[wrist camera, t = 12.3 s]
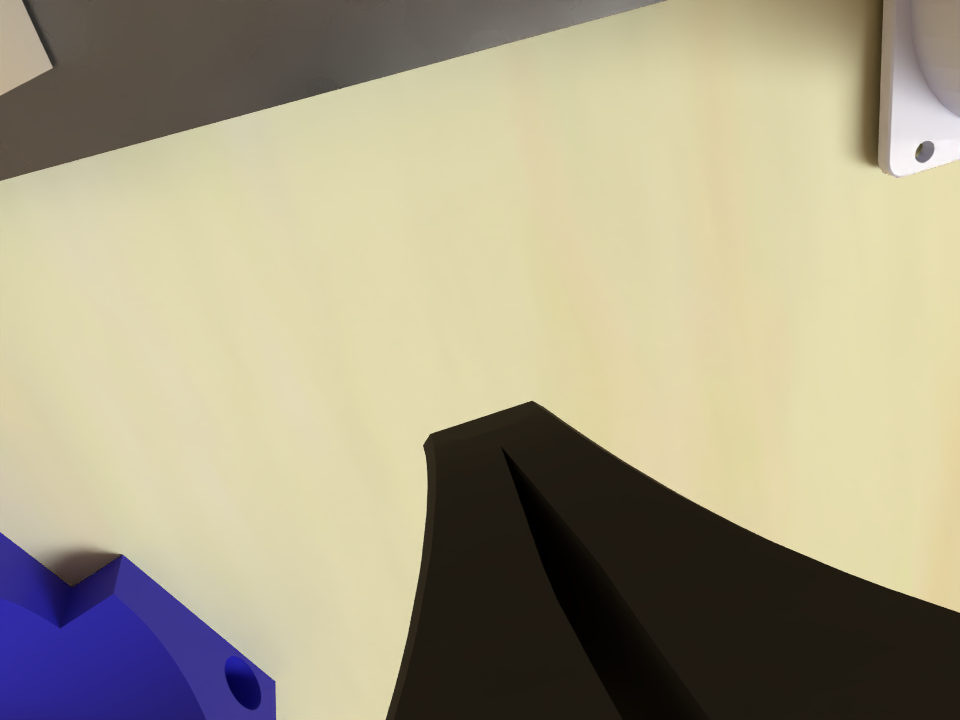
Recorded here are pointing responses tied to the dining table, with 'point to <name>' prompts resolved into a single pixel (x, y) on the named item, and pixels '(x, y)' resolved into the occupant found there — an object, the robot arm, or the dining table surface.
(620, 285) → the dining table surface
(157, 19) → the breaker panel
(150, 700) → the cable clip
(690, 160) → the dining table surface
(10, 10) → the on breaker
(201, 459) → the dining table surface
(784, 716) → the robot arm
